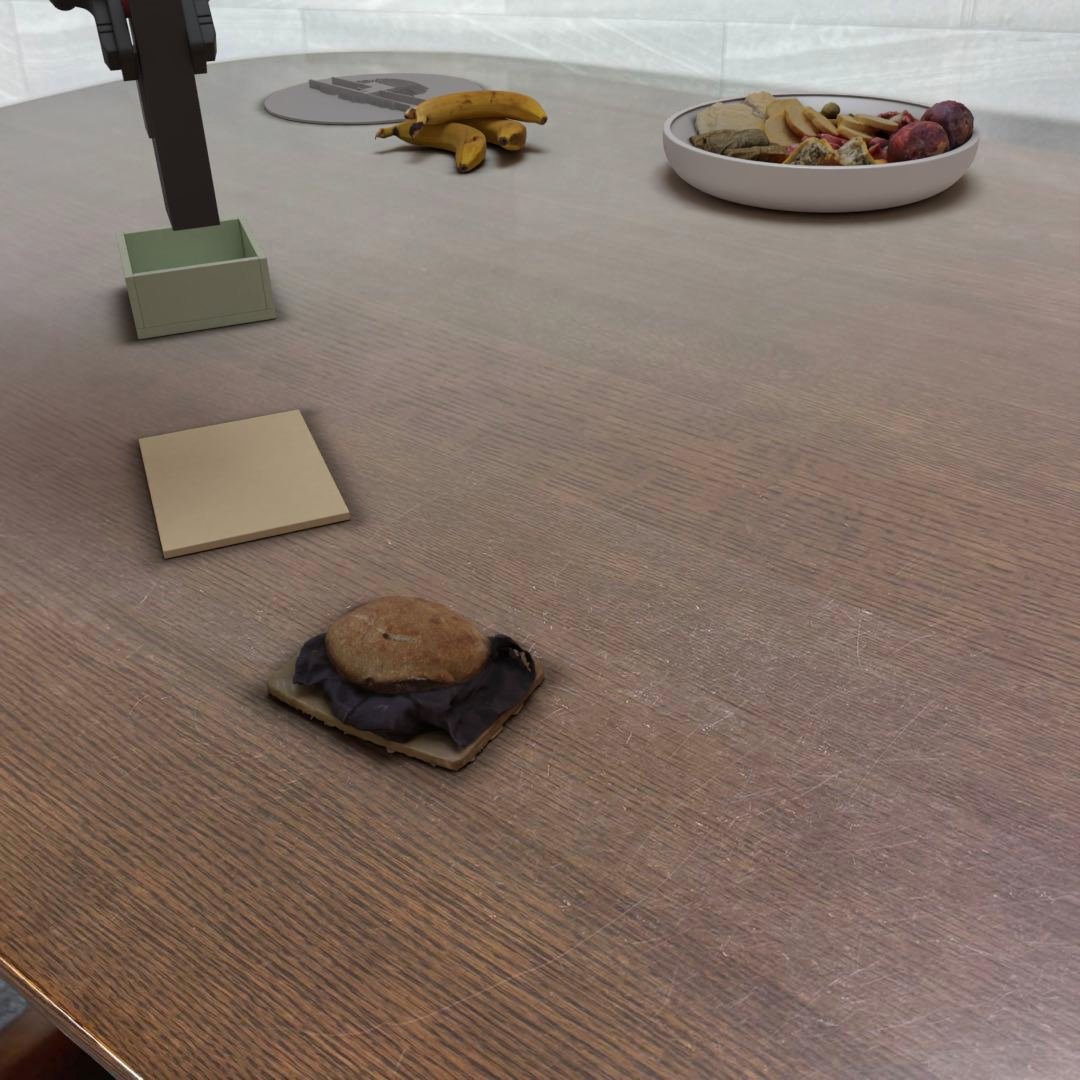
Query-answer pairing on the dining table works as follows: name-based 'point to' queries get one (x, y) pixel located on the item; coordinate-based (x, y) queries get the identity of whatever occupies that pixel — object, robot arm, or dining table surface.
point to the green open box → (195, 277)
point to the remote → (172, 111)
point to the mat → (238, 483)
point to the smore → (410, 679)
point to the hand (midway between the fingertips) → (165, 66)
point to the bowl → (821, 150)
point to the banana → (469, 123)
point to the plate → (362, 97)
